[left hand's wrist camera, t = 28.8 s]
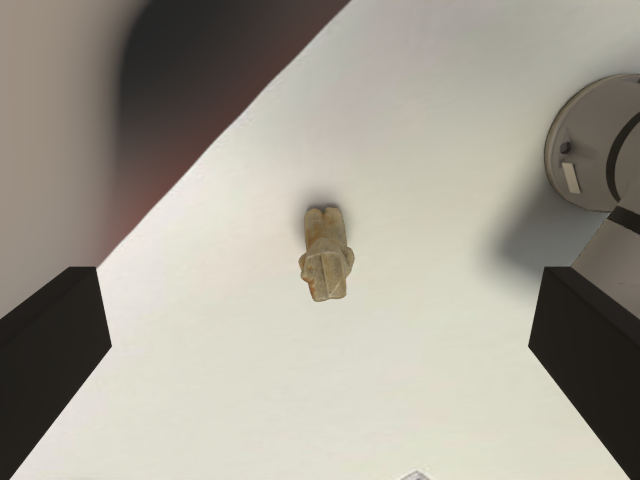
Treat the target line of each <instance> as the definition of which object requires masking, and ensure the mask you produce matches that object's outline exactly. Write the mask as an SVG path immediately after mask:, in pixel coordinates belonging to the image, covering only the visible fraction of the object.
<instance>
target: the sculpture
mask: <svg viewBox="0 0 640 480" xmlns="http://www.w3.org/2000/svg"><path fill="white" fill-rule="evenodd" d="M305 242H306V249H307V252H306V253H305V254H303V255H302V256H301V257H300V259H299V265H300V268H301V270H302V272H301V278H302V279H303V280H304V281H306V282H307V283H308V284H309V289H310V293H311V296H312V298H313V300H314V301H316V302H321V301H326V300H328V299H341V298H343V297H345V296H346V277H347V276H348V275H349V273H350V272H351V270H352V269H351V268H352V266H353V263H354V259H355V258H354V254H353V251H352V249H351V248H349V247H347V240H346V233H345V226H344V221H343V217H342V213H341V211H340V210H339V209H338V208H331V207H327V208H326V209H325V212H324V213H322V212H321V211H320V210H318V209H311V210H309V211H308V212H307V213H306V215H305Z"/></svg>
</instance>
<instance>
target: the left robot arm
mask: <svg viewBox="0 0 640 480" xmlns="http://www.w3.org/2000/svg"><path fill="white" fill-rule="evenodd" d="M545 167H546V172H547V175H548V178H549V180H550V182H551V184H552V186H553V187H554V189H555V190H556V191H557V192H558V193H559V194H560V195H561V196H562V197H563V198H564V199H566V200H567V201H569V202H571V203H573V204H575V205H577V206H579V207H581V208H584V209H586V210H590V211H596V212H612V213H611V214H610V215H609V217H608V218H607V219H606V220H605V221H604V223H603V224H602V225H601V227H600V228H599V229H598V231H597V232H596V233H595V235H594V236H593V237H592V239H591V240H590V241H589V243H588V244H587V246H586V247H585V248H584V250H583V251H582V252H581V254H580V255H579V256H578V258H577V259H576V260H575V262H574V263H573V264H572V266H571V267H544V272H543V276H542V281H541V286H540V291H539V296H538V301H537V306H536V310H535V315H534V320H533V325H532V330H531V335H530V340H529V344H528V347H529V348H530V350H531V351H532V352H533V353H534V355H535V356H536V357H537V359H538V360H539V361H540V363H541V364H542V365H543V366H544V368H545V369H546V370H547V372H548V373H549V374H550V376H551V377H552V378H553V379H554V381H555V382H556V383H557V385H558V386H559V387H560V389H561V390H562V391H563V392H564V394H565V395H566V396H567V398H568V399H569V400H570V402H571V403H572V404H573V405H574V407H575V408H576V409H577V411H578V412H579V413H580V415H581V416H582V417H583V418H584V420H585V421H586V422H587V424H588V425H589V426H590V428H591V429H592V430H593V432H594V433H595V434H596V435H597V437H598V438H599V439H600V441H601V442H602V443H603V445H604V446H605V447H606V448H607V450H608V451H609V452H610V454H611V455H612V456H613V458H614V459H615V460H616V461H617V463H618V464H619V465H620V467H621V468H622V469H623V471H624V472H625V473H626V474H627V476H628V477H629V478H630V480H640V235H639V234H640V74H622V75H615V76H611V77H607V78H604V79H602V80H599V81H597V82H595V83H593V84H591V85H589V86H588V87H586V88H585V89H583V90H582V91H580V92H579V93H578V94H577V95H575V96H574V97H573V98H572V99H571V100H570V101H569V102H568V103H567V104H566V105H565V106H564V108H563V109H562V110H561V112H560V113H559V115H558V116H557V118H556V119H555V121H554V123H553V125H552V127H551V129H550V132H549V135H548V138H547V142H546V147H545ZM621 225H622V226H621ZM623 226H624V227H623ZM627 228H628V229H627ZM629 229H630V230H629ZM631 230H632V231H631ZM633 231H634V232H633ZM111 347H112V344H111V340H110V335H109V330H108V325H107V320H106V315H105V310H104V306H103V301H102V296H101V291H100V286H99V281H98V276H97V272H96V267H68V268H67V269H66V270H64V271H63V272H62V273H60V274H59V275H58V276H56V277H55V278H54V279H53V280H51V281H50V282H49V283H47V284H46V285H45V286H43V287H42V288H41V289H39V290H38V291H37V292H35V293H34V294H33V295H32V296H30V297H29V298H28V299H26V300H25V301H24V302H22V303H21V304H20V305H18V306H17V307H16V308H15V309H13V310H12V311H11V312H9V313H8V314H7V315H5V316H4V317H3V318H1V319H0V480H10V478H11V477H12V476H13V474H14V473H15V472H16V471H17V469H18V468H19V467H20V465H21V464H22V463H23V461H24V460H25V459H26V458H27V456H28V455H29V454H30V452H31V451H32V450H33V448H34V447H35V446H36V445H37V443H38V442H39V441H40V439H41V438H42V437H43V435H44V434H45V433H46V432H47V430H48V429H49V428H50V426H51V425H52V424H53V422H54V421H55V420H56V418H57V417H58V416H59V415H60V413H61V412H62V411H63V409H64V408H65V407H66V405H67V404H68V403H69V402H70V400H71V399H72V398H73V396H74V395H75V394H76V392H77V391H78V390H79V389H80V387H81V386H82V385H83V383H84V382H85V381H86V379H87V378H88V377H89V376H90V374H91V373H92V372H93V370H94V369H95V368H96V366H97V365H98V364H99V363H100V361H101V360H102V359H103V357H104V356H105V355H106V353H107V352H108V351H109V350H110V348H111Z"/></svg>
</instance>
